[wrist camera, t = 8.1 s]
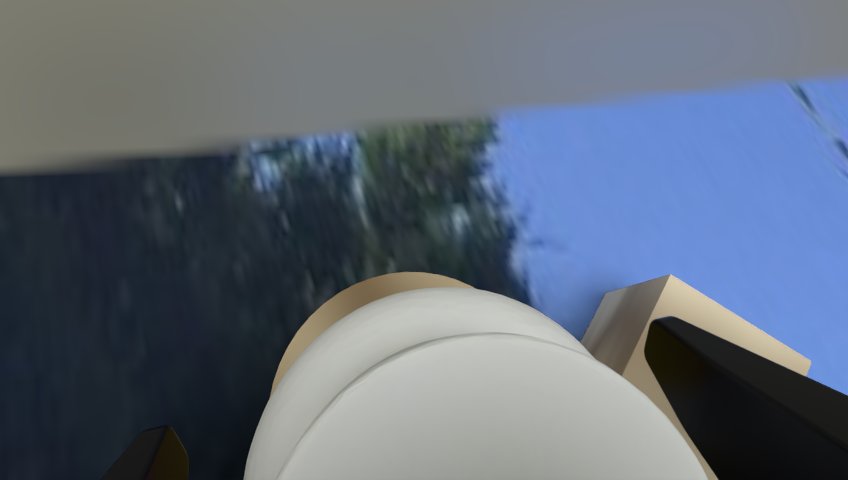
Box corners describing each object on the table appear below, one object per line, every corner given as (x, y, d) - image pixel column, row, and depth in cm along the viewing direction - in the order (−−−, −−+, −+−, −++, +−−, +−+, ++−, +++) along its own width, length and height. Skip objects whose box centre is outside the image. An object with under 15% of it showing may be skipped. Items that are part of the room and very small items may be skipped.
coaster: (367, 633, 16) (367, 643, 15) (219, 370, 17) (214, 370, 16) (597, 447, 18) (605, 450, 17) (446, 227, 19) (449, 223, 19)
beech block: (662, 477, 18) (754, 516, 13) (547, 403, 18) (601, 417, 14) (712, 360, 19) (811, 361, 15) (604, 293, 19) (670, 274, 15)
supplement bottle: (327, 315, 17) (196, 204, 5) (505, 327, 18) (798, 254, 5) (305, 518, 16) (17, 1141, 3) (502, 526, 16) (917, 1091, 4)
